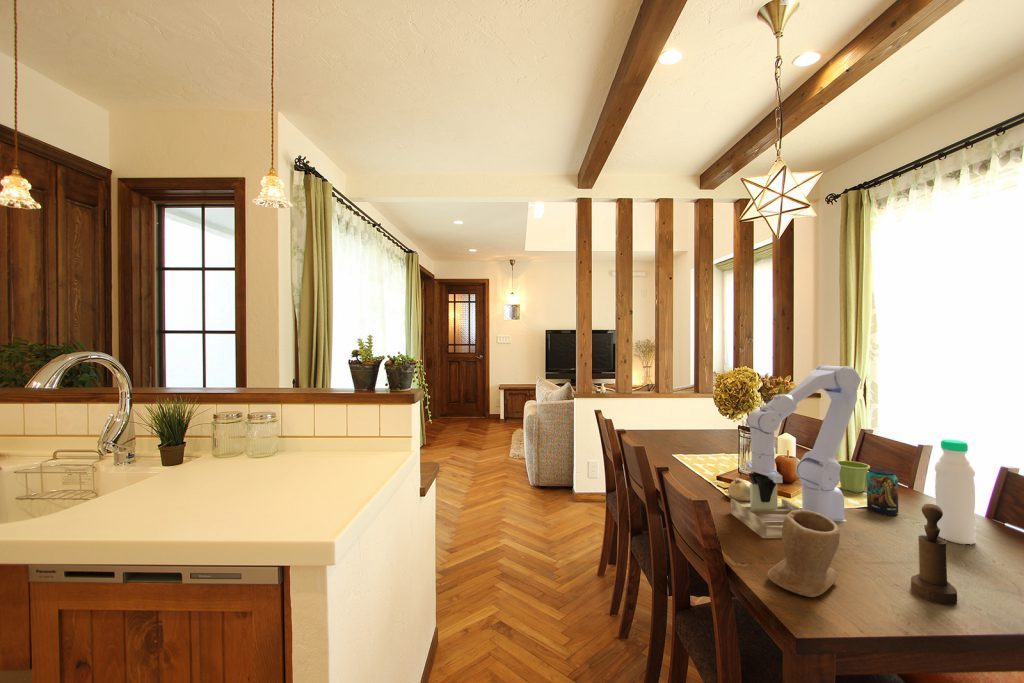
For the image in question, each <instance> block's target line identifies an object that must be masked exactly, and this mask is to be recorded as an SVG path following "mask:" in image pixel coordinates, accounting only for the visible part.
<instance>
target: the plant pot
mask: <svg viewBox="0 0 1024 683" xmlns="http://www.w3.org/2000/svg"><path fill="white" fill-rule="evenodd" d="M837 462H838V463H839V465H840V466H841V469H840V473H839V476H840V481H839V483H840V484H839V485H840V488H841V489H842V490H844V489H845V490H844V491H850V492H852V491H853V492H852V493H862V492H864V491H865V487H866V481H867V474H868V473H869V469H871V468H870V467H871V466H870V465H869V464H867V463H863V462H858V461H851V460H837Z"/></svg>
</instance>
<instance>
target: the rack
mask: <svg viewBox="0 0 1024 683" xmlns="http://www.w3.org/2000/svg"><path fill="white" fill-rule="evenodd" d="M793 510H803V509H802V507H799V506H797V505H795V504H794V503H792V502H791V501H788V500H787V499H785V498H781V505H778V510H751V509H750V505H742V504H741V503H739V501H738V500H736V499H733V498H730V514H731V515H732V516H734V517H735V518H736V519H738V520H739V521H740V522H742V524H744V525H745V526H747V527H748V528H749V529H750V530H751V531H753V532H754V533H755V534H757V535H758V536H760V537H761V539H782V528H783V522H784V521H763V520H762V519H761V518H759V517H758V516H756V515H755V514H785V515H787V514H788V513H789V512H791V511H793Z"/></svg>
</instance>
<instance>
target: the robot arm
mask: <svg viewBox="0 0 1024 683" xmlns="http://www.w3.org/2000/svg"><path fill="white" fill-rule="evenodd" d="M861 380H862V378H861V376H860V375H859V373H858V371H857V370H856V369H855V368H854V367H852V366H849V365H848V366H838V365H835V366H834V365H826V364H820V365H817V367H815V369H812V370H810V372H809V375H808V376H807V377H805V378H804V379H803V380H802V381H801V382H800V383H799V384H797V385H796V386H795V387H794V388H793V389H792V390H790V392H788V393H786V394H785V393H780V394H774V396H773V397H772V399H771V400H770V401H768V402H767V403H766V404H765V405H762V406H760V409H754V410H752V411H751V412H749V414H748V417H747V418H746V419H745V422H746V425H747V426H748V427H749V429H750V432H749V433H750V444H751V446H750V447H751V448H750V449H751V460H748V461H746V462H745V468H746V469H747V470H748V472H749V473H748V477H749V479H750V480H751V482H752V484H758V486H759V492H760V498H761V501H762V502H770V499H771V495H772V492H773V490H774V487H775V486H776V485H778V484H783V475H781V474H780V473H779V472H778V471H777V469H776V468H775V467H776V466H775V465H776V463H775V462H776V460H775V459H776V458H775V456H776V455H775V451H776V450H775V432H777V430H778V429H779V428H780V424H781V423H782V421H783V420H784V419H786V418H787V417H789V416H790V415H791V414H793V413H794V412H795V411H797V408H798V404H799V403H800V402H802V401H803V400H805V399H807V398H808V397H810V396H812V395H813V394H814V393H816V392H817V391H819V390H823V391H824V392H825V393H826V394H827V395H828V397H829V398H830V403H829V404H828V405H829V406H828V408H827V411H826V414H825V416H824V418H823V421H822V424H821V427H820V429H819V432H818V435H817V437H816V439H815V442H814V445H813V447H812V449H811V450H809V451H807V452H805V453H804V454H803V455H802V457H801V459H800V460H799V461H798V462H796V465H795V473H796V476H797V477H798V478H799V479H800V483H801V500H802V502H801V504H802V505H801V509H803V510H809V511H813V512H817V513H819V514H822V515H824V516H826V517H827V518H829V519H831V520H832V521H833V522H847V520H846V519H845V496H844V494H843V492H842V490H841V489H840V488H838V487H837V486H838V485H840V484H839V483H840V476H839V473H840V469H841V466H840V465H839V463H838V462H837V461H838V460H837V458H836V456H837V454H838V452H839V449H840V446H841V443H842V441H843V438H844V435H845V433H846V430H847V428H848V425H849V424H850V423H849V422H850V420H851V417H852V415H853V413H854V409H855V408H856V404H857V401H858V389H859V386H860V383H861Z"/></svg>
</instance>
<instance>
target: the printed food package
mask: <svg viewBox="0 0 1024 683" xmlns="http://www.w3.org/2000/svg"><path fill="white" fill-rule="evenodd" d="M866 506H867V508H868V509H869V510H870V511H871V512H873V513H875V514H879V515H883V516H895V515H897V514H898V513H899V478H898V477H897V476H896V474H895V472H894V471H893V470H890V469H889V470H888V469H884V468H878V467H877V468H874V467H873V468H869V469H868V472H867V474H866Z"/></svg>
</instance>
